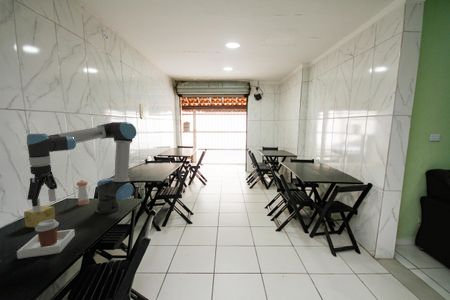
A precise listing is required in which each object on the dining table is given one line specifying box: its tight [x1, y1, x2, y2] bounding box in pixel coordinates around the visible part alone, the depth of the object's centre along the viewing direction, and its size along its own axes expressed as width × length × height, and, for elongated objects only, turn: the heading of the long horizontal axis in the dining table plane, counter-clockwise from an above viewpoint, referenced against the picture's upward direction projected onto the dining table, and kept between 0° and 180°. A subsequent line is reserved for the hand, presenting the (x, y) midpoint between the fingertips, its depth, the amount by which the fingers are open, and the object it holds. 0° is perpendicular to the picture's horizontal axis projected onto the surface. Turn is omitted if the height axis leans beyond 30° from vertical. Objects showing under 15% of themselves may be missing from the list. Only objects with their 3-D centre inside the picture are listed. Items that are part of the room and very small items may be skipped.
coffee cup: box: [34, 219, 60, 247], centre depth 103 cm, size 9×9×12 cm
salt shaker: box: [76, 179, 90, 206], centre depth 158 cm, size 7×7×19 cm
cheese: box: [23, 205, 56, 229], centre depth 126 cm, size 10×11×10 cm
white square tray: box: [16, 228, 76, 260], centre depth 103 cm, size 17×17×4 cm
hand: (45, 206), depth 101 cm, fingers open, 13 cm apart
